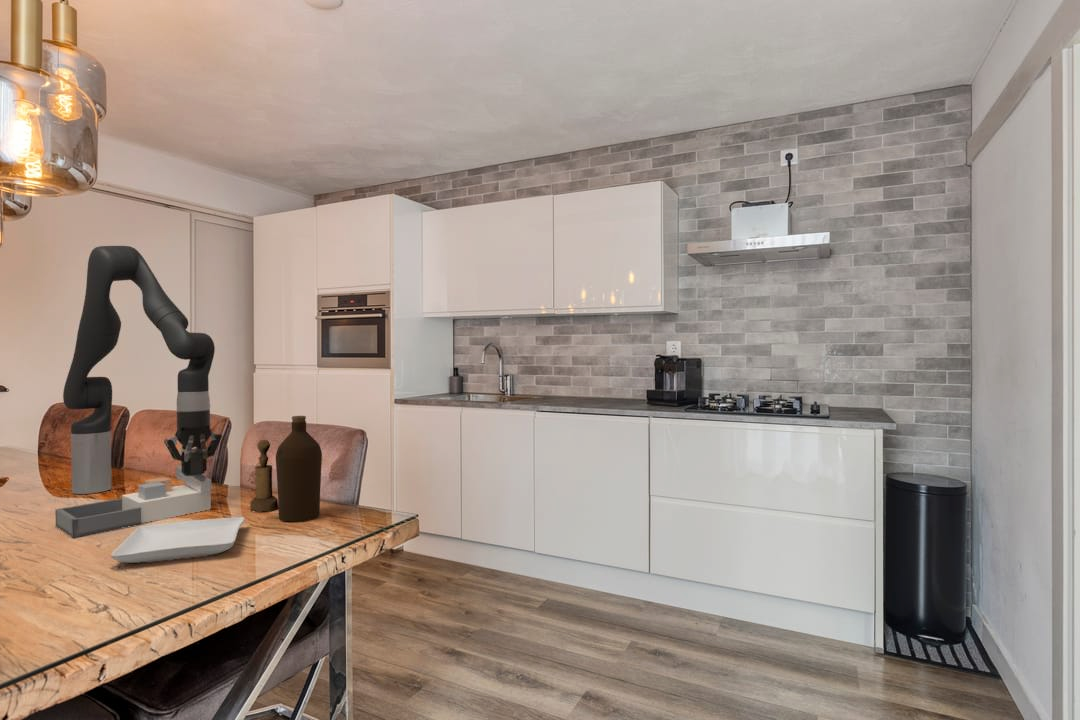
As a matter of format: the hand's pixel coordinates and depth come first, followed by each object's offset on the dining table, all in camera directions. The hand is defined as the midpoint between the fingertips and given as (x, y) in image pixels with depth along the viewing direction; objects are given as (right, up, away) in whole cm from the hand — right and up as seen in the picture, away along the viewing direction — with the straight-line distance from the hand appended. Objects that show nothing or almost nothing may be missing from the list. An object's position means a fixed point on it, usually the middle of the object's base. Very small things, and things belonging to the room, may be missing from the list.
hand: (194, 474), depth 156 cm
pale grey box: (-5, -4, -9) cm, 11 cm away
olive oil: (+31, -9, -9) cm, 34 cm away
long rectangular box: (-4, -9, -5) cm, 11 cm away
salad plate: (+16, -10, -31) cm, 36 cm away
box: (-13, -9, -16) cm, 23 cm away
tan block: (-7, -4, -4) cm, 9 cm away
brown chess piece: (+19, -9, -1) cm, 21 cm away
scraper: (-1, -3, +1) cm, 3 cm away
